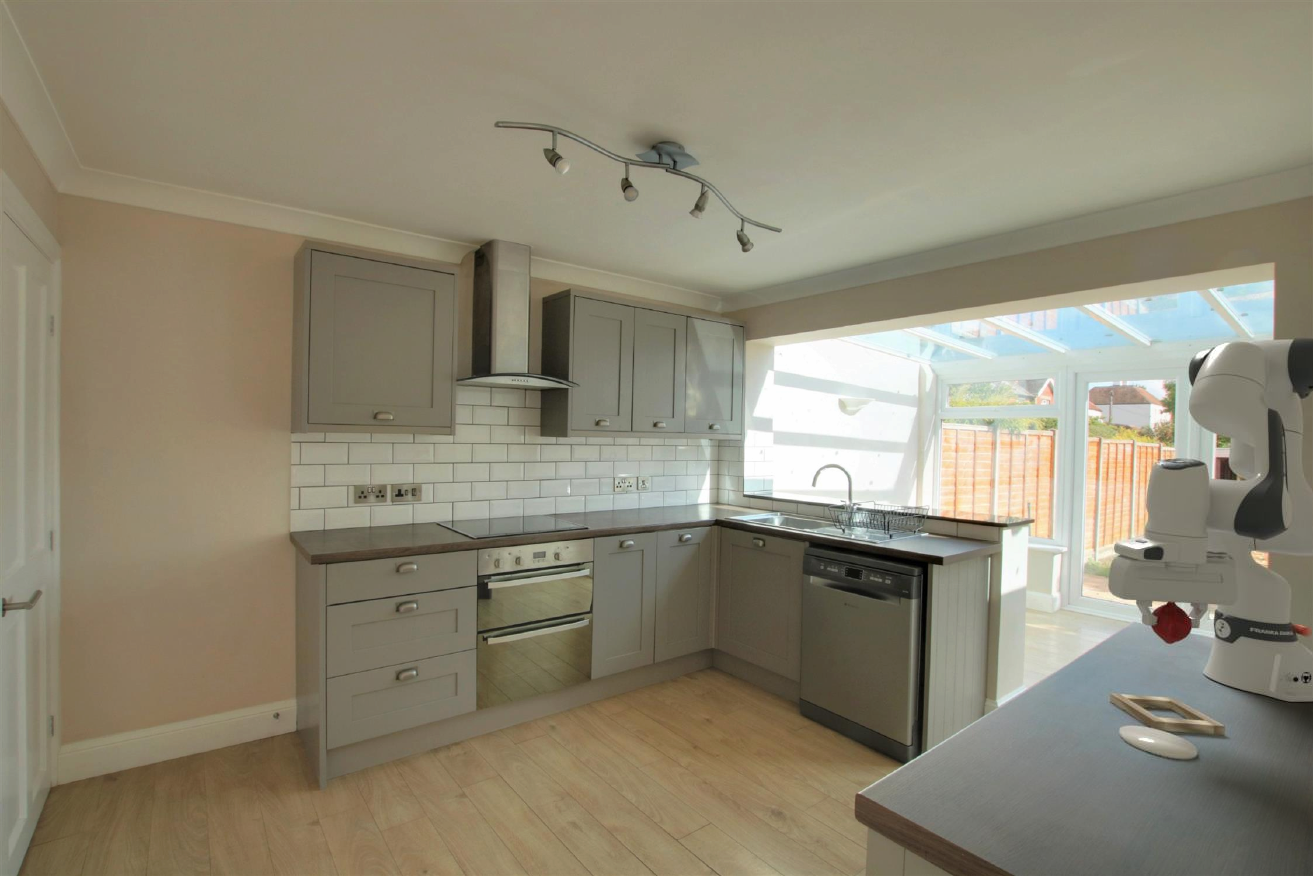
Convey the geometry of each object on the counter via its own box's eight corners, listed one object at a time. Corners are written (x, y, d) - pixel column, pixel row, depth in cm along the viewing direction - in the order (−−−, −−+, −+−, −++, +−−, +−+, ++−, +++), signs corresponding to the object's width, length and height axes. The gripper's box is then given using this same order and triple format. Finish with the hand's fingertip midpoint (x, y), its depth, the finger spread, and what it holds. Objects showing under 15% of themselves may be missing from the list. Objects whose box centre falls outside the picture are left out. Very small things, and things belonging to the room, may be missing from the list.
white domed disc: (1165, 731, 108) (1166, 727, 108) (1214, 761, 98) (1214, 758, 98) (1105, 727, 109) (1105, 723, 109) (1147, 756, 99) (1147, 753, 99)
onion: (1198, 651, 111) (1201, 605, 110) (1160, 647, 112) (1163, 602, 112) (1177, 640, 116) (1180, 596, 116) (1142, 636, 117) (1144, 593, 117)
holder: (1173, 705, 120) (1173, 697, 120) (1224, 734, 108) (1224, 726, 108) (1109, 701, 120) (1110, 693, 120) (1154, 729, 109) (1154, 721, 109)
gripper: (1220, 549, 116) (1216, 624, 117) (1105, 543, 117) (1100, 617, 118) (1250, 556, 110) (1246, 635, 110) (1128, 549, 111) (1124, 628, 111)
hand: (1170, 626), depth 114 cm, fingers closed on onion, 6 cm apart
